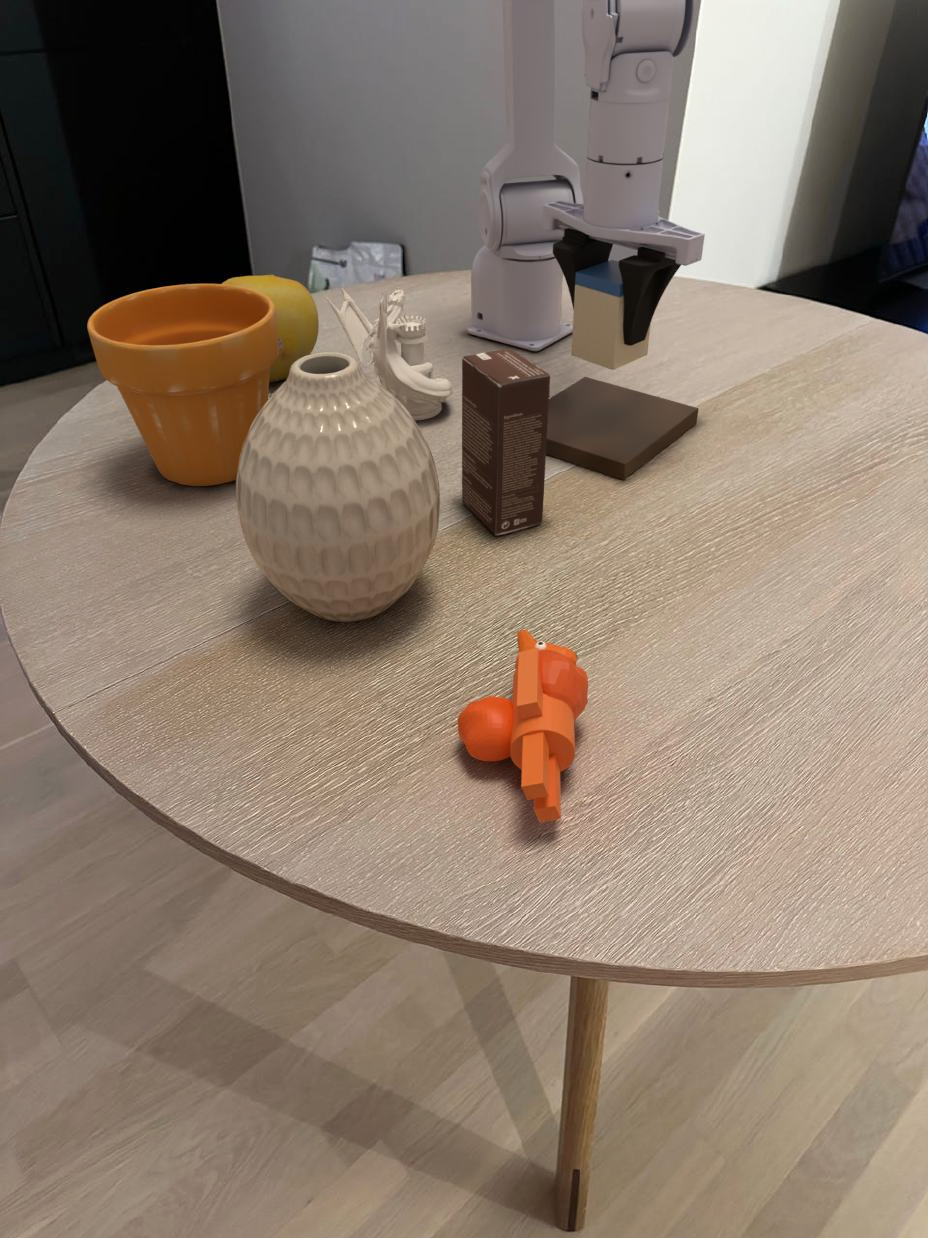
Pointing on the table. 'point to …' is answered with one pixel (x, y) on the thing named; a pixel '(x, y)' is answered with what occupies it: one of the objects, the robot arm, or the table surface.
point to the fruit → (286, 318)
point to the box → (504, 439)
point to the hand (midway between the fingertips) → (610, 333)
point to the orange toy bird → (532, 721)
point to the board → (612, 426)
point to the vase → (337, 491)
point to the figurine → (396, 353)
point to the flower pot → (190, 372)
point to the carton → (602, 318)
